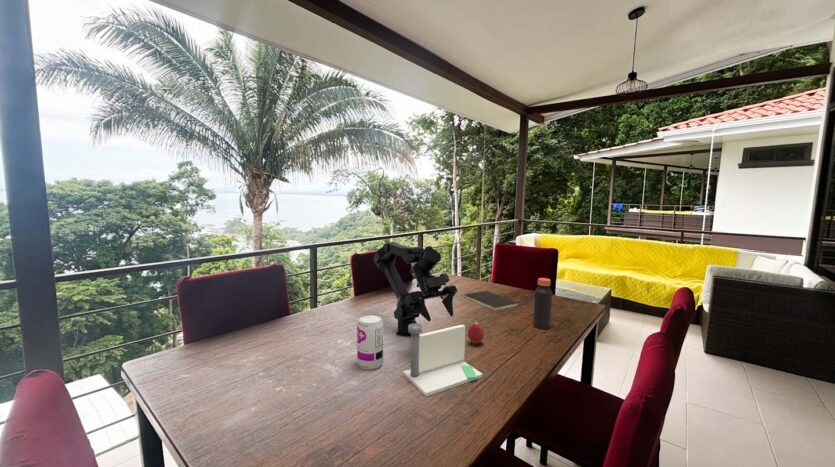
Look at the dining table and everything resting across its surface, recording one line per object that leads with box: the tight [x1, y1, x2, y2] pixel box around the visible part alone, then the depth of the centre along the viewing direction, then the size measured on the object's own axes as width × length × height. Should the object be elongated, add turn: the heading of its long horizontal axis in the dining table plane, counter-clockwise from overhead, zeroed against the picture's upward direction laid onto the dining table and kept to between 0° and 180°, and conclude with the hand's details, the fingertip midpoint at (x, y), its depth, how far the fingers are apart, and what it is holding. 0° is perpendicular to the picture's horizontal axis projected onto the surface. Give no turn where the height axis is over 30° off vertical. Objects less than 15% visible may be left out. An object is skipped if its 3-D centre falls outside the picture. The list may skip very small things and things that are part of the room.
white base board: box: [402, 359, 484, 397], centre depth 103 cm, size 20×14×1 cm
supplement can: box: [356, 314, 384, 371], centre depth 108 cm, size 8×8×15 cm
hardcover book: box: [464, 290, 520, 311], centre depth 174 cm, size 16×23×2 cm
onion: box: [467, 321, 485, 345], centre depth 125 cm, size 6×6×8 cm
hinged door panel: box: [408, 322, 466, 377], centre depth 104 cm, size 20×4×15 cm, turn 121°
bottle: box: [532, 277, 553, 330], centre depth 141 cm, size 7×7×20 cm
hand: (441, 318), depth 114 cm, fingers open, 9 cm apart
